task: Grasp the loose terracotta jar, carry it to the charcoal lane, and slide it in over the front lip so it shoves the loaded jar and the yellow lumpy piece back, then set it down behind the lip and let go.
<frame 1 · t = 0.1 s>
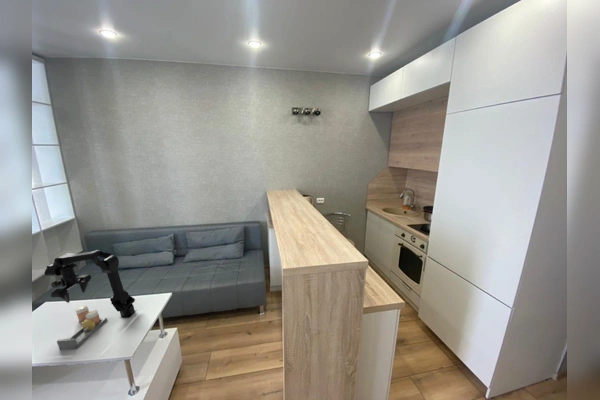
hand: (76, 297, 135), 14 cm above the table, fingers open, 9 cm apart
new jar: (85, 319, 137), on the table
loaded jar: (95, 324, 132), resting on lane
lane: (85, 334, 126), on the table
yellow lumpy piece: (86, 326, 127), point 4 cm above the table, slide at 0.0 cm
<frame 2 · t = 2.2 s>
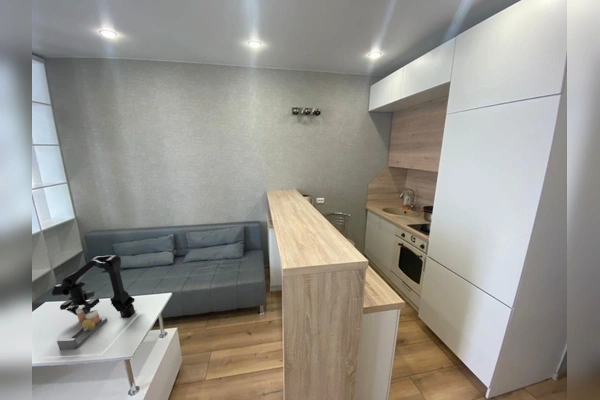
hand: (83, 315, 136), 3 cm above the table, fingers closed on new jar, 5 cm apart
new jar: (85, 319, 137), on the table, touching gripper
everything else where it was.
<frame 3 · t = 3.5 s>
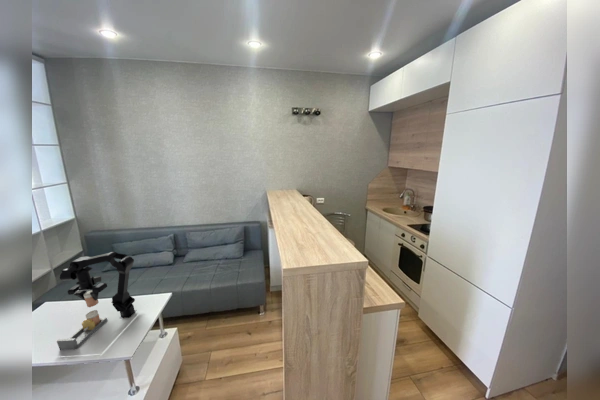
hand: (91, 300, 135), 12 cm above the table, fingers closed on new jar, 5 cm apart
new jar: (93, 304, 136), point 9 cm above the table, touching gripper
everything else where it was.
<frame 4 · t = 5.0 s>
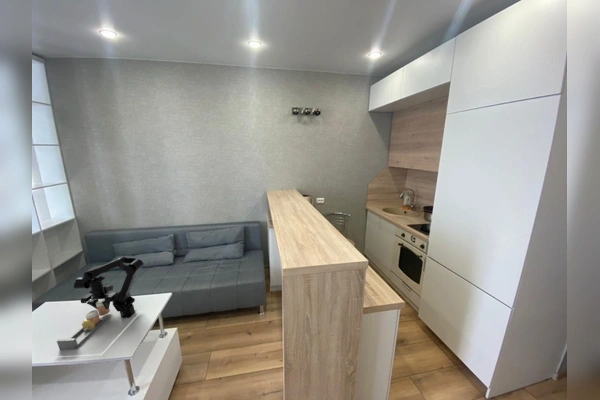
hand: (103, 309, 138), 5 cm above the table, fingers closed on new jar, 5 cm apart
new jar: (104, 312, 138), point 2 cm above the table, touching gripper
everything else where it was.
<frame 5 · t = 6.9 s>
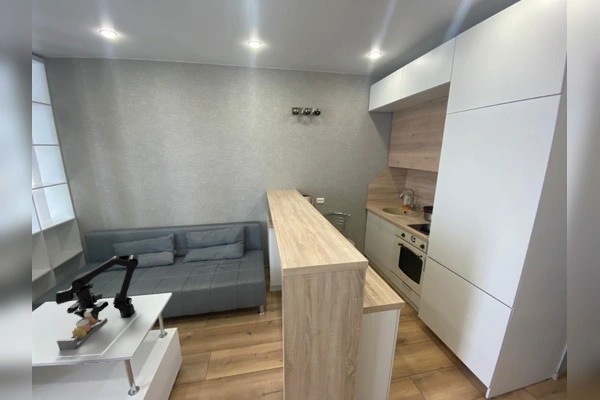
hand: (92, 319, 130), 5 cm above the table, fingers closed on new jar, 5 cm apart
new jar: (93, 322, 131), point 2 cm above the table, touching gripper, loaded jar
loaded jar: (86, 332, 126), resting on lane, touching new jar, yellow lumpy piece
yellow lumpy piece: (77, 334, 121), point 4 cm above the table, slide at 5.7 cm, touching loaded jar
when the fingers open (4 cm above the table, at t = 7.9 s): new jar stays where it is, resting on lane.
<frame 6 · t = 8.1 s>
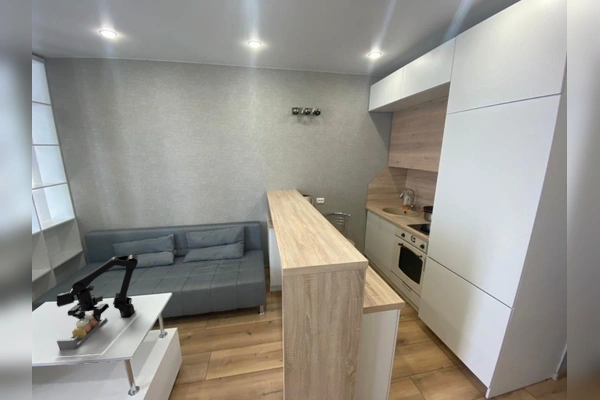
hand: (92, 321, 130), 3 cm above the table, fingers open, 7 cm apart
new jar: (94, 325, 131), resting on lane
loaded jar: (86, 333, 126), resting on lane, touching yellow lumpy piece
everything else where it was.
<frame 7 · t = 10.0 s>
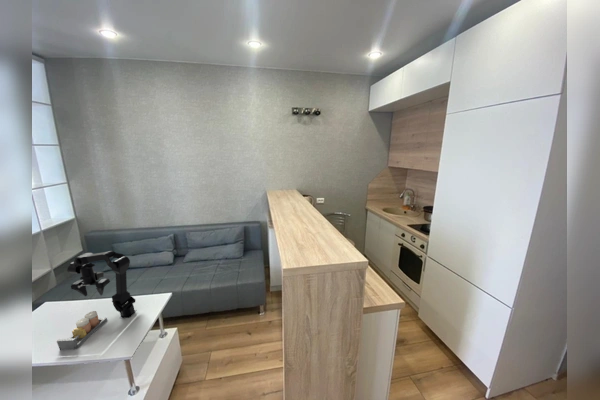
hand: (94, 295, 140), 12 cm above the table, fingers open, 9 cm apart
nothing on the table moved.
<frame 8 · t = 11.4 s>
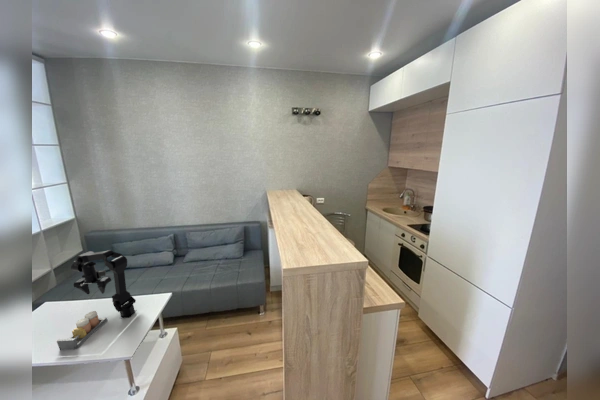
hand: (96, 293, 142), 12 cm above the table, fingers open, 9 cm apart
nothing on the table moved.
at the end: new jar 0.1 cm from the target spot on the lane, point 0.4 cm above the lane's base; yellow lumpy piece slide at 5.8 cm; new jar tilted 0° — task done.
